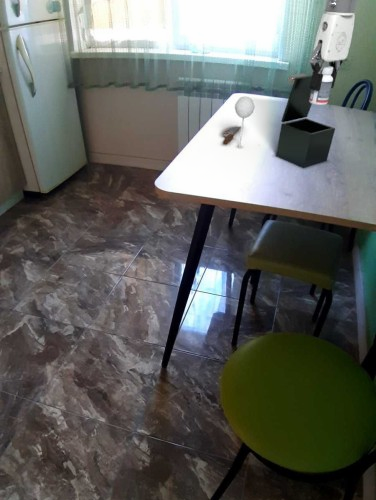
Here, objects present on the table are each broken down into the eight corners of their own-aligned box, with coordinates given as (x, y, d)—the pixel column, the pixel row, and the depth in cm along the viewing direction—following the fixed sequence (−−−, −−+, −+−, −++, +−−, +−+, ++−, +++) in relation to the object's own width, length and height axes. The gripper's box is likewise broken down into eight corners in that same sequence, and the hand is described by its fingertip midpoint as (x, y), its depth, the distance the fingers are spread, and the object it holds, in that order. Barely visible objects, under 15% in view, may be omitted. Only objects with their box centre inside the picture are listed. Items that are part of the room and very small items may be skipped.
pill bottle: (330, 103, 118) (339, 67, 112) (321, 106, 116) (330, 69, 110) (314, 99, 121) (322, 64, 115) (305, 102, 118) (312, 66, 112)
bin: (326, 161, 130) (335, 128, 123) (303, 168, 125) (311, 134, 118) (298, 150, 137) (305, 118, 130) (275, 156, 131) (281, 123, 125)
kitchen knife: (228, 124, 152) (242, 124, 151) (228, 129, 153) (242, 129, 152) (213, 139, 137) (228, 139, 135) (213, 144, 138) (228, 145, 136)
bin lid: (322, 74, 120) (309, 66, 122) (297, 78, 115) (284, 70, 117) (307, 117, 129) (295, 109, 132) (282, 122, 124) (270, 114, 127)
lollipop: (233, 151, 134) (239, 99, 123) (228, 144, 138) (233, 94, 127) (251, 150, 135) (258, 99, 124) (245, 144, 139) (252, 94, 129)
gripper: (331, 9, 97) (312, 95, 110) (372, 7, 105) (350, 88, 118) (306, 5, 101) (291, 89, 114) (348, 4, 109) (329, 82, 122)
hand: (321, 87), depth 116 cm, fingers closed on pill bottle, 5 cm apart
